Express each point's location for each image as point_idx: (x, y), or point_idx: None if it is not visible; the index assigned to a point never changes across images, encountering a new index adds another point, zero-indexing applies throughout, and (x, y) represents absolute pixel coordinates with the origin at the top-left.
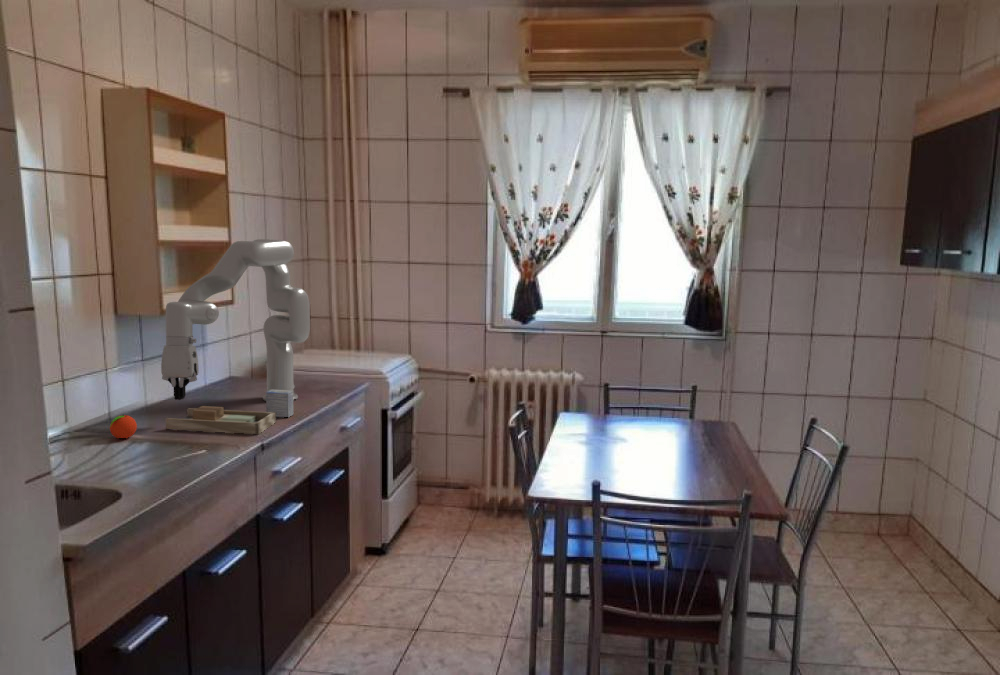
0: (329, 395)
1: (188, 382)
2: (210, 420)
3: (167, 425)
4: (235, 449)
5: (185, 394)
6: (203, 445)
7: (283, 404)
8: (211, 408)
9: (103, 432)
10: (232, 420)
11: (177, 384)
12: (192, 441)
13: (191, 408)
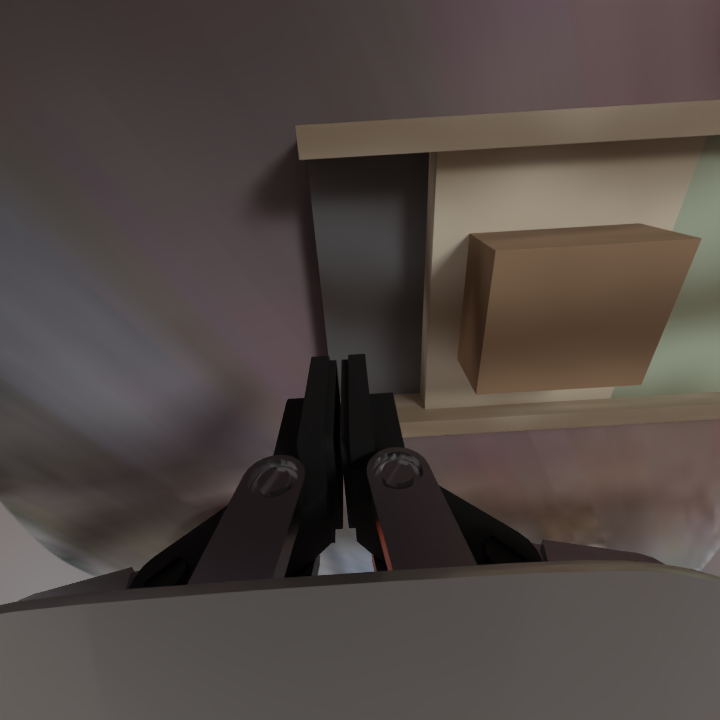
0: None
1: (481, 528)
2: (596, 414)
3: None
4: (697, 528)
5: (393, 395)
6: (578, 519)
7: None
8: (601, 312)
9: (110, 481)
10: (711, 317)
11: (321, 538)
12: (524, 496)
13: (326, 132)
